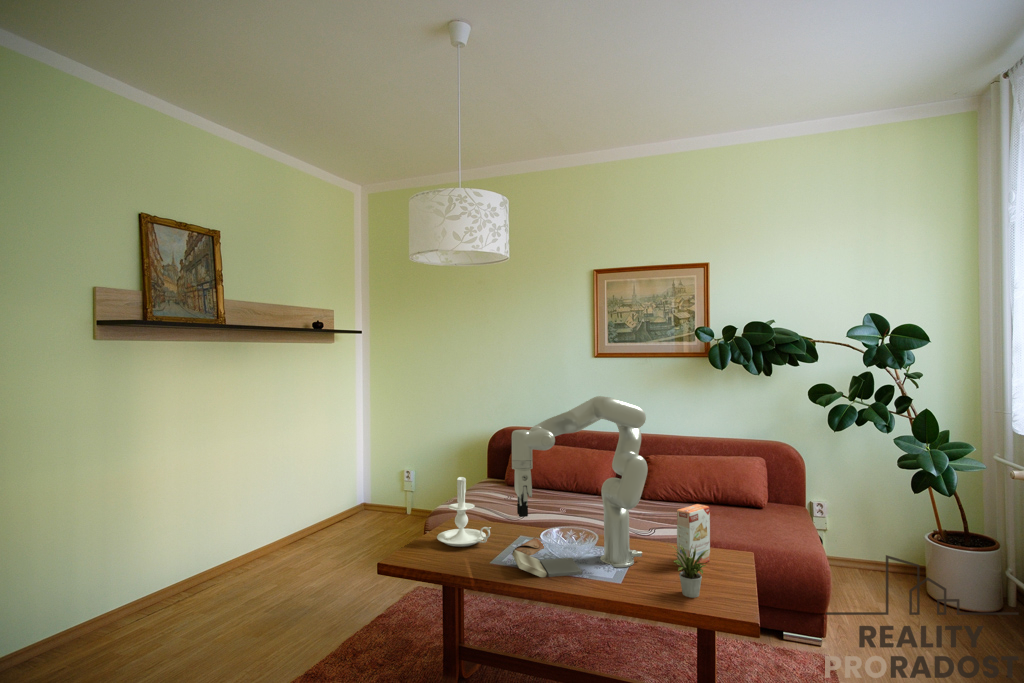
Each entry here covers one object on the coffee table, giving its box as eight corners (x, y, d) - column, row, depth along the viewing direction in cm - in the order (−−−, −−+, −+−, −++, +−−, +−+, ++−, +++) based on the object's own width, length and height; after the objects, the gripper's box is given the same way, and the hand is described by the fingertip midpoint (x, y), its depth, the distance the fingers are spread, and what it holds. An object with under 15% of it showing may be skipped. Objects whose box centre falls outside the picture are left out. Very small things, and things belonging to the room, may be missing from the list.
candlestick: (477, 556, 220) (477, 485, 221) (427, 546, 231) (426, 479, 232) (503, 541, 238) (502, 475, 239) (455, 533, 250) (454, 470, 251)
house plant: (658, 596, 181) (657, 545, 182) (671, 582, 193) (670, 534, 193) (702, 607, 173) (701, 553, 174) (714, 591, 185) (713, 541, 185)
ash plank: (538, 565, 209) (540, 560, 209) (547, 579, 195) (549, 574, 196) (512, 554, 208) (514, 549, 208) (519, 568, 194) (521, 562, 194)
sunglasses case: (531, 560, 215) (523, 543, 217) (517, 567, 218) (510, 550, 219) (551, 546, 230) (544, 531, 232) (538, 553, 233) (531, 538, 235)
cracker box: (690, 570, 204) (689, 512, 204) (676, 565, 208) (675, 509, 209) (711, 561, 212) (710, 506, 213) (697, 557, 217) (696, 503, 218)
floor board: (571, 563, 211) (571, 557, 212) (582, 577, 198) (582, 571, 198) (540, 565, 209) (540, 559, 209) (548, 579, 196) (548, 573, 196)
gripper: (537, 468, 195) (537, 521, 195) (527, 460, 211) (528, 509, 210) (515, 468, 194) (516, 522, 193) (508, 460, 210) (508, 510, 209)
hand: (522, 514), depth 202 cm, fingers open, 2 cm apart
